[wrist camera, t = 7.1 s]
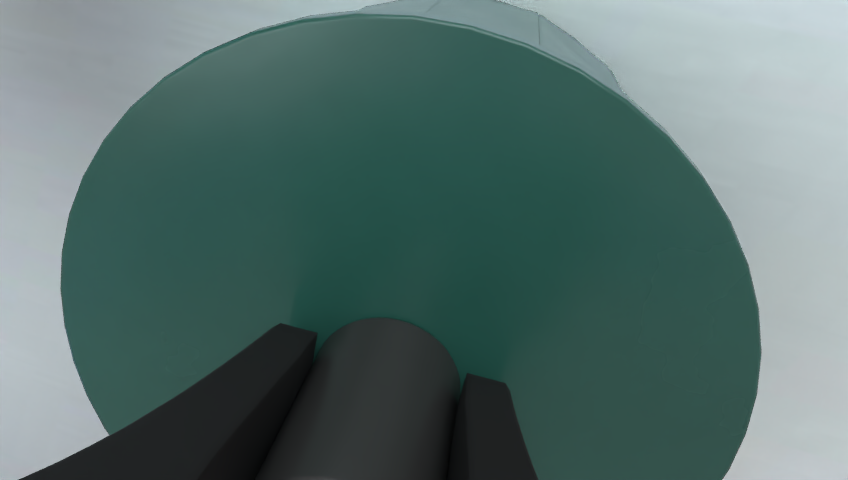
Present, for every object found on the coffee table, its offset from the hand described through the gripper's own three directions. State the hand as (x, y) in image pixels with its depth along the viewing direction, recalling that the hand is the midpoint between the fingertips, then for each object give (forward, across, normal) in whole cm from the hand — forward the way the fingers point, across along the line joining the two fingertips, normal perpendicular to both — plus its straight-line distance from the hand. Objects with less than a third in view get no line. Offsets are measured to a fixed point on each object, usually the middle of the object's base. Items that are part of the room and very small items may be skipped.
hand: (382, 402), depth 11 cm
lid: (+1, 0, 0) cm, 1 cm away
